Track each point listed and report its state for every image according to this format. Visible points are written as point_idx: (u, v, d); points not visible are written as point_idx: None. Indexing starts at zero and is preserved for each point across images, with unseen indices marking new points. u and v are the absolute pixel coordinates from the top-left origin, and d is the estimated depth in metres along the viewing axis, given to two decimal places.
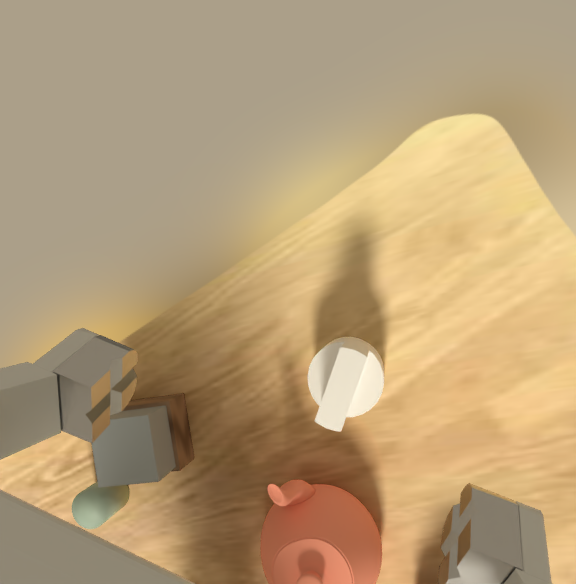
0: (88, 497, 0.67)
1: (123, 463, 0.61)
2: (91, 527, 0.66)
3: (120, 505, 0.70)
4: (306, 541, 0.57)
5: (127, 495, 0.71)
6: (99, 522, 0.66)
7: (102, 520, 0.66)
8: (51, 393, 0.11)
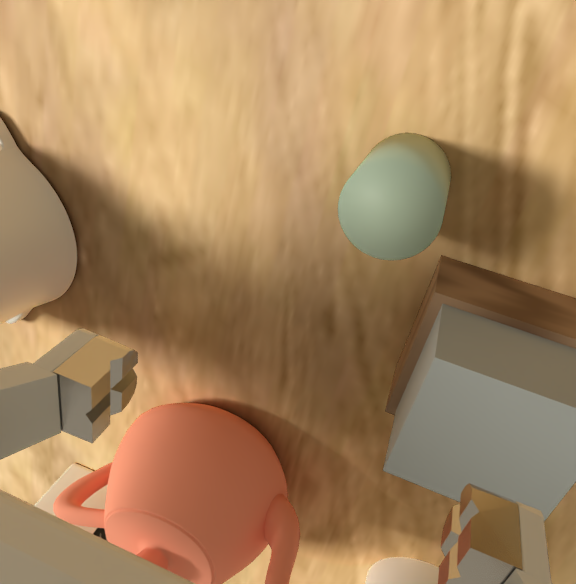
0: (420, 226, 0.24)
1: (460, 436, 0.24)
2: (343, 197, 0.25)
3: None
4: (208, 579, 0.37)
5: None
6: (348, 224, 0.25)
7: (349, 234, 0.25)
8: (51, 393, 0.11)
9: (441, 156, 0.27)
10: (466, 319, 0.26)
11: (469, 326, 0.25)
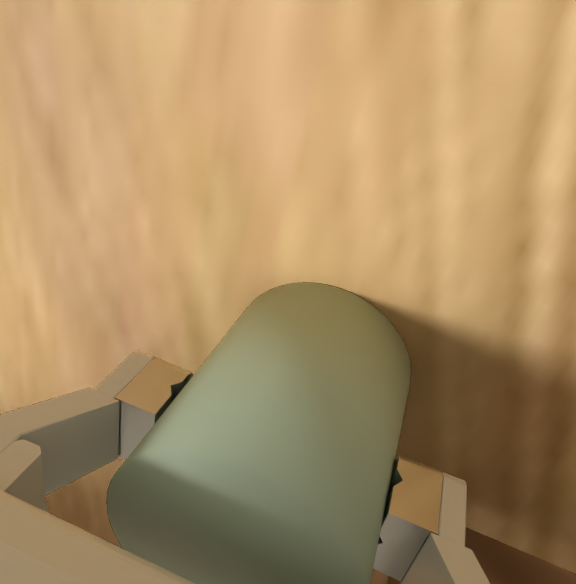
0: None
1: None
2: (115, 503, 0.09)
3: None
4: None
5: None
6: (139, 553, 0.10)
7: None
8: (112, 419, 0.11)
9: (384, 352, 0.12)
10: None
11: None
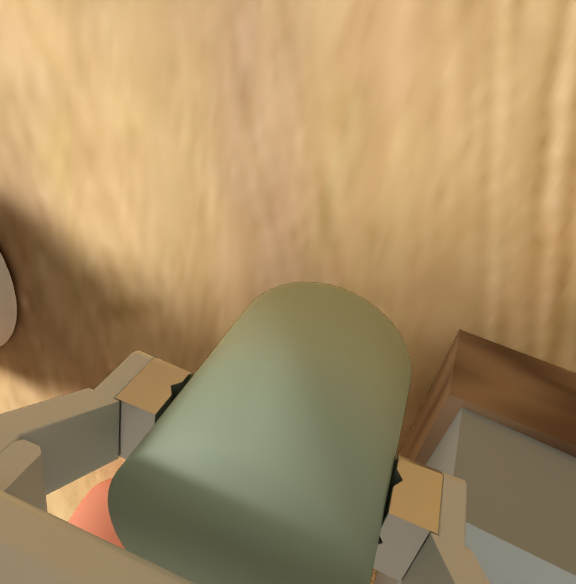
0: None
1: None
2: (116, 502, 0.09)
3: None
4: None
5: None
6: (140, 552, 0.10)
7: None
8: (112, 419, 0.11)
9: (384, 352, 0.12)
10: (495, 436, 0.18)
11: (499, 449, 0.18)
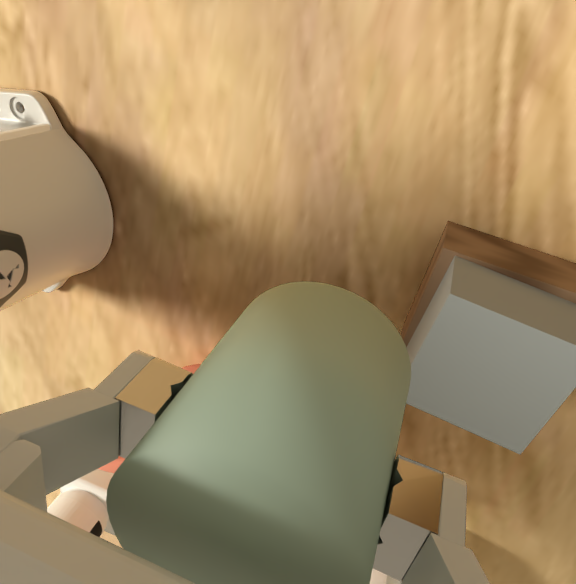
0: None
1: (464, 365, 0.28)
2: (115, 502, 0.09)
3: None
4: None
5: None
6: (139, 552, 0.10)
7: None
8: (112, 419, 0.11)
9: (384, 351, 0.12)
10: (475, 269, 0.30)
11: (478, 274, 0.29)
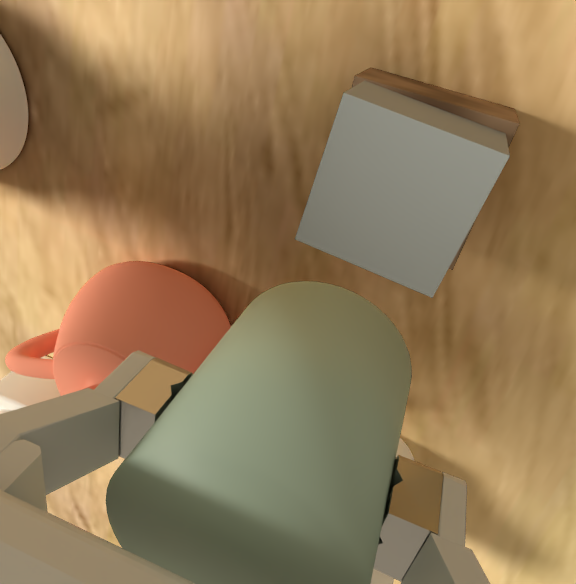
0: None
1: (365, 188, 0.25)
2: (115, 503, 0.09)
3: None
4: None
5: None
6: (139, 553, 0.10)
7: None
8: (112, 419, 0.11)
9: (384, 351, 0.12)
10: (384, 90, 0.27)
11: (385, 93, 0.26)
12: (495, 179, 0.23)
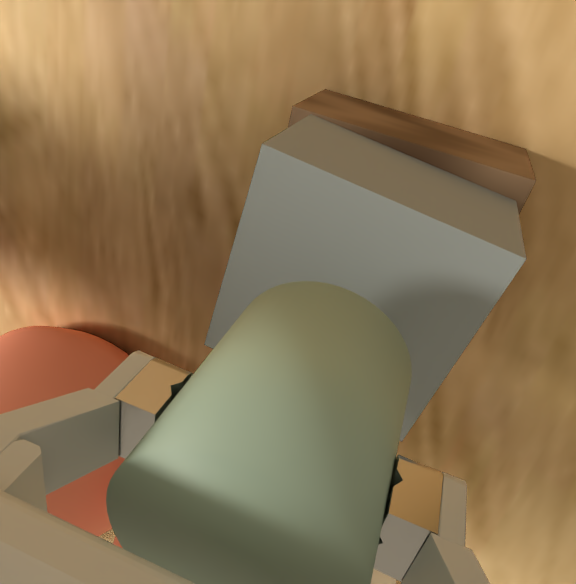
0: None
1: None
2: (115, 502, 0.09)
3: None
4: None
5: None
6: (139, 553, 0.10)
7: None
8: (112, 419, 0.11)
9: (384, 351, 0.12)
10: (337, 132, 0.18)
11: (338, 137, 0.17)
12: (501, 291, 0.14)
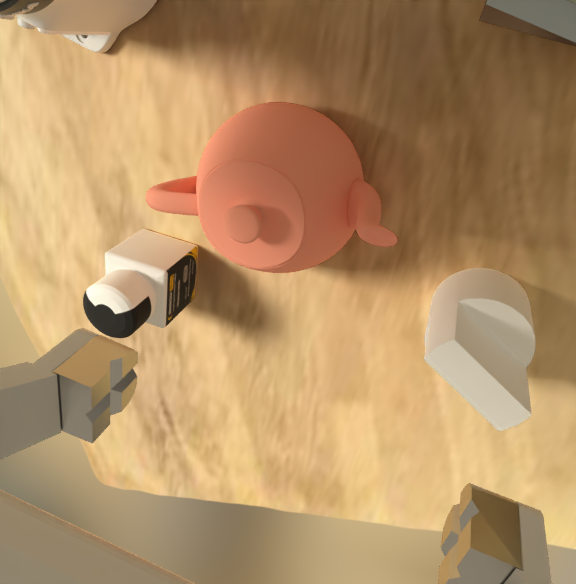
0: None
1: None
2: None
3: None
4: (299, 234, 0.40)
5: (569, 0, 0.28)
6: None
7: None
8: (51, 393, 0.11)
9: None
10: None
11: None
12: None
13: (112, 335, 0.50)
